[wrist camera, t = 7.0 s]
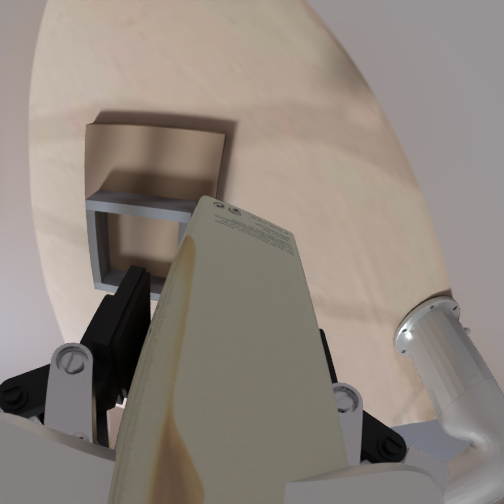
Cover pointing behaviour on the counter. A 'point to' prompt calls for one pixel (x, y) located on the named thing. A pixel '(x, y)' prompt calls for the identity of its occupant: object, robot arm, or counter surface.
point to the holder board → (144, 195)
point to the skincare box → (228, 374)
